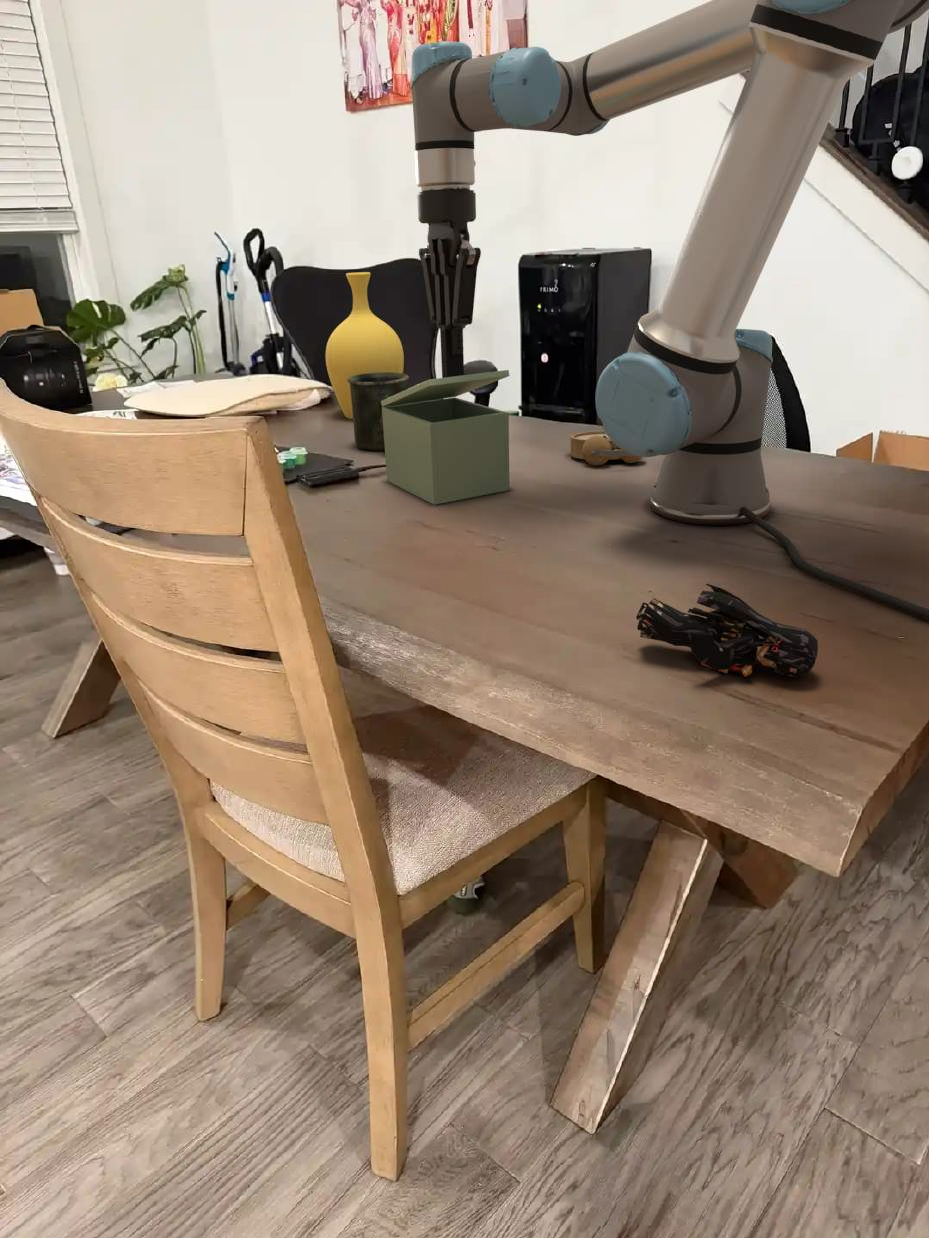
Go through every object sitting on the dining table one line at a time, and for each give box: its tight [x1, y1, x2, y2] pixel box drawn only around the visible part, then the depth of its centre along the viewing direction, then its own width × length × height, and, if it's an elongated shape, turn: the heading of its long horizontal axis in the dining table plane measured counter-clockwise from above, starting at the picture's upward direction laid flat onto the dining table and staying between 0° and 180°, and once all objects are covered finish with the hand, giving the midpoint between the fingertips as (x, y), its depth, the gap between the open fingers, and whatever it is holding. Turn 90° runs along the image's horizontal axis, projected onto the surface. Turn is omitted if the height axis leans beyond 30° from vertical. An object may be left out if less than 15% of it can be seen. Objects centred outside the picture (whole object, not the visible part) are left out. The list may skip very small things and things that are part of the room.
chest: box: [382, 397, 510, 506], centre depth 125 cm, size 16×13×11 cm
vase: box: [325, 271, 405, 420], centre depth 173 cm, size 16×16×28 cm
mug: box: [347, 372, 410, 451], centre depth 149 cm, size 11×15×12 cm
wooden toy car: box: [569, 430, 643, 466], centre depth 138 cm, size 11×5×15 cm
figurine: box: [635, 583, 819, 678], centre depth 72 cm, size 9×8×15 cm
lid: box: [381, 369, 510, 407], centre depth 121 cm, size 17×13×1 cm
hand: (453, 377), depth 118 cm, fingers closed
